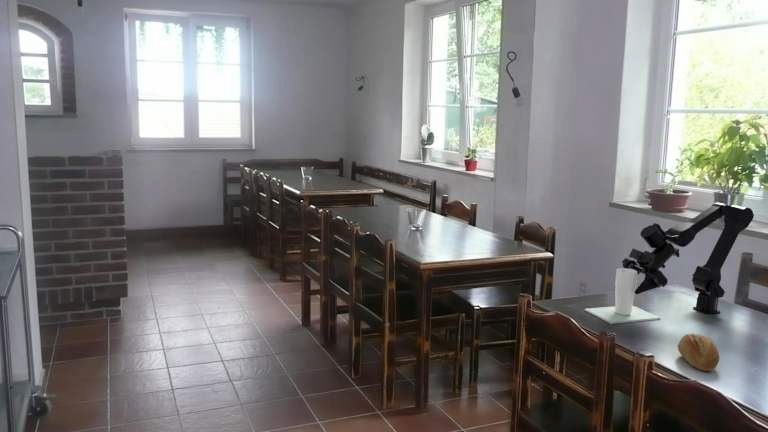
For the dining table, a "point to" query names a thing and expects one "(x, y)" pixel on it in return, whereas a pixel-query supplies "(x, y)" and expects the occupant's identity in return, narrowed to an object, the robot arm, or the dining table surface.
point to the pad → (612, 317)
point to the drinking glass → (625, 290)
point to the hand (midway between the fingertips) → (627, 289)
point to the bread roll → (699, 351)
